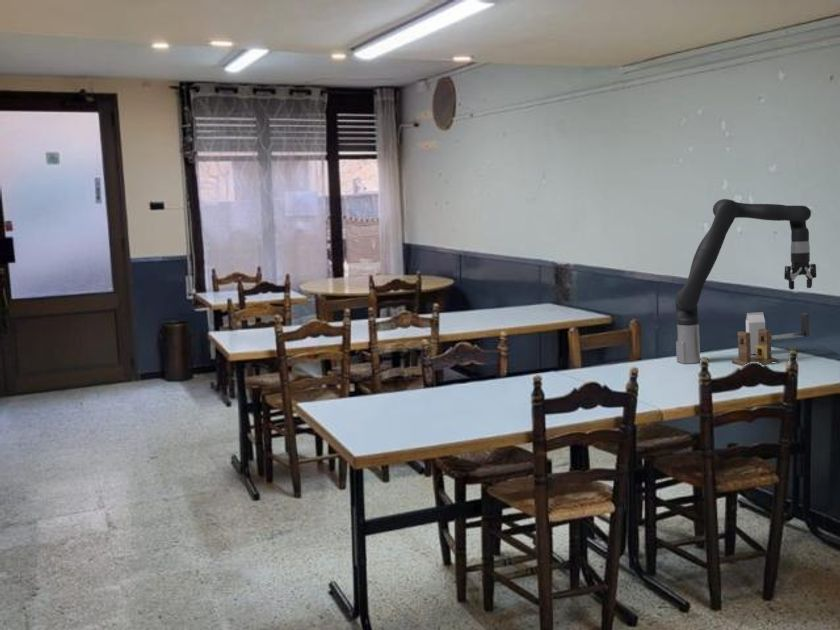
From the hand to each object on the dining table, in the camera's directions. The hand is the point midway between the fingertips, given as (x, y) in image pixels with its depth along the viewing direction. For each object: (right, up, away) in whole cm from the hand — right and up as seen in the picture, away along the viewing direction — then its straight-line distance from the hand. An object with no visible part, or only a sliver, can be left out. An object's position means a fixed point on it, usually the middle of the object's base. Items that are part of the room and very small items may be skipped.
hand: (800, 288), depth 368 cm
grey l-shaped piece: (-6, -22, 0) cm, 23 cm away
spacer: (-18, -31, -2) cm, 35 cm away
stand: (-21, -32, -2) cm, 38 cm away
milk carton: (-12, -29, +18) cm, 37 cm away
